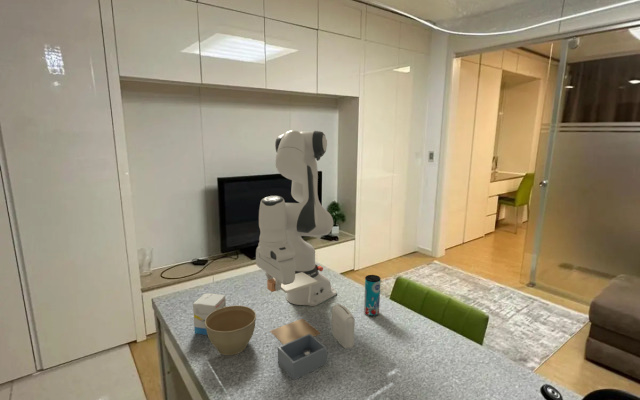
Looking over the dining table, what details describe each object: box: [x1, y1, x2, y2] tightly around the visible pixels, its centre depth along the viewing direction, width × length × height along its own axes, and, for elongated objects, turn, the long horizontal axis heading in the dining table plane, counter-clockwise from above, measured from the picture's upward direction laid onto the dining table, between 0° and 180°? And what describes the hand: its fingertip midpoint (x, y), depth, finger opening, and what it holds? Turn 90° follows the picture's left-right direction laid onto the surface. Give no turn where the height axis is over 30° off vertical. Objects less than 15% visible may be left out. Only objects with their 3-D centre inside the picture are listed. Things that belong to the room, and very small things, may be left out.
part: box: [303, 348, 312, 357], centre depth 105 cm, size 3×3×2 cm
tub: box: [277, 334, 328, 381], centre depth 102 cm, size 12×9×6 cm
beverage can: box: [363, 274, 381, 317], centre depth 131 cm, size 6×6×15 cm
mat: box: [269, 318, 322, 345], centre depth 119 cm, size 14×12×1 cm
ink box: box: [192, 292, 227, 336], centre depth 121 cm, size 8×8×12 cm
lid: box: [266, 272, 318, 294], centre depth 113 cm, size 16×10×4 cm, turn 126°
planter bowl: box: [205, 305, 257, 356], centre depth 110 cm, size 16×16×11 cm
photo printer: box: [331, 303, 356, 349], centre depth 114 cm, size 10×4×12 cm, turn 26°
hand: (274, 287), depth 110 cm, fingers closed on lid, 3 cm apart
